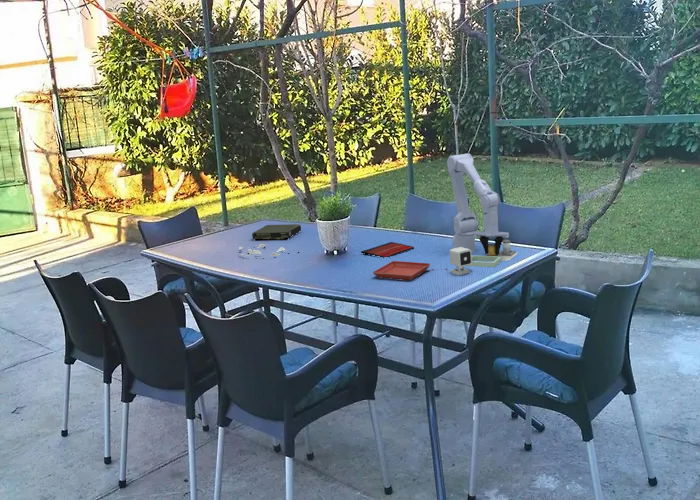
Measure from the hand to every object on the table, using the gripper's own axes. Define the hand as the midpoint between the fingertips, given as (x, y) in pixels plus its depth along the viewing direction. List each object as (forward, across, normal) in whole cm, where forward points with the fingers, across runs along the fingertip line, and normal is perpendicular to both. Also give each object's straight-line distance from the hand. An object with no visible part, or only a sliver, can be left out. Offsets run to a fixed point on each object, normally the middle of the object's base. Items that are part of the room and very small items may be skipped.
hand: (492, 253), depth 294 cm
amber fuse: (+2, 0, 0) cm, 2 cm away
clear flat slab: (+4, -116, -7) cm, 116 cm away
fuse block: (+3, +2, +4) cm, 5 cm away
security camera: (+3, -6, -21) cm, 22 cm away
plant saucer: (+4, -29, -28) cm, 40 cm away
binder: (+4, -53, +7) cm, 54 cm away
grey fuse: (+2, +4, +7) cm, 8 cm away
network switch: (+4, -133, +28) cm, 136 cm away
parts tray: (+3, -1, -9) cm, 10 cm away
